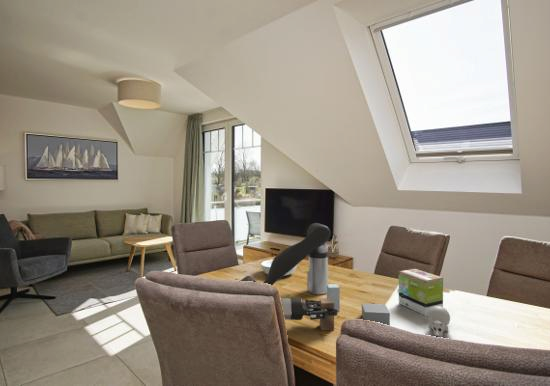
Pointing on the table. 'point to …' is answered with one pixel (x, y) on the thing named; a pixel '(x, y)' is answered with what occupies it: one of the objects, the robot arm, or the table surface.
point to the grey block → (376, 313)
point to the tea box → (420, 290)
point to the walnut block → (329, 320)
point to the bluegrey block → (334, 294)
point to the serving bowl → (267, 265)
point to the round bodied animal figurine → (438, 320)
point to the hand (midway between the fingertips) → (335, 309)
